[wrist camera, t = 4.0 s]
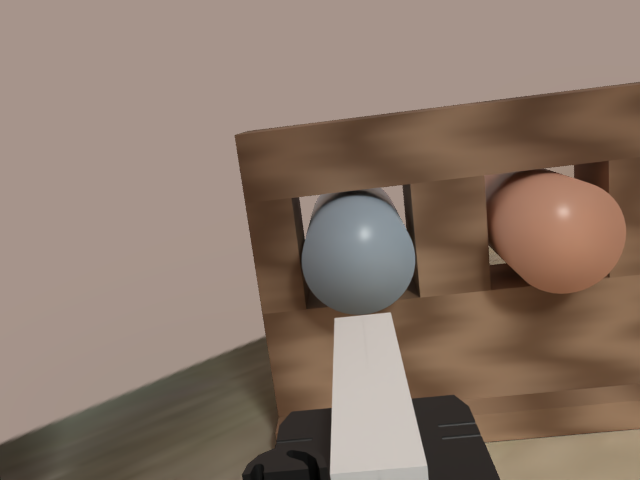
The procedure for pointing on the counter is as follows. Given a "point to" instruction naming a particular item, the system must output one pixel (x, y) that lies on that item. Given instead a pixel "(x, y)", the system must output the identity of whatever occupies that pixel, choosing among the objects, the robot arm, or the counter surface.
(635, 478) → the counter surface
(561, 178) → the terracotta long rounded piece
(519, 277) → the brown wooden rectangular frame
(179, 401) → the counter surface
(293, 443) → the robot arm
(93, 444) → the counter surface
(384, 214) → the slate button
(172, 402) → the counter surface
